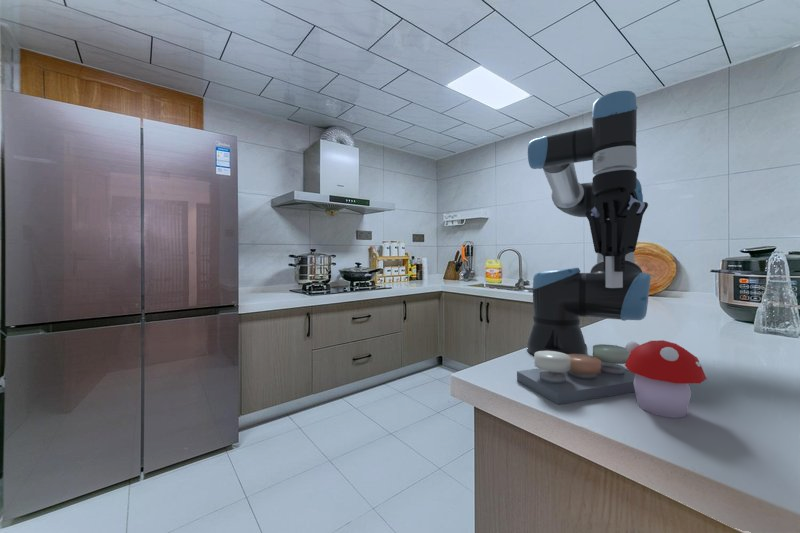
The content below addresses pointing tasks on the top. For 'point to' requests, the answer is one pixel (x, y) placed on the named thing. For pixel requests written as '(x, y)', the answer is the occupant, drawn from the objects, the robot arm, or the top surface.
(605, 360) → the sage cap
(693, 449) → the top surface
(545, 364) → the white flat dome
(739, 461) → the top surface
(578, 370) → the terracotta cap
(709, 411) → the top surface
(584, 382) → the button board
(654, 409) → the mushroom
